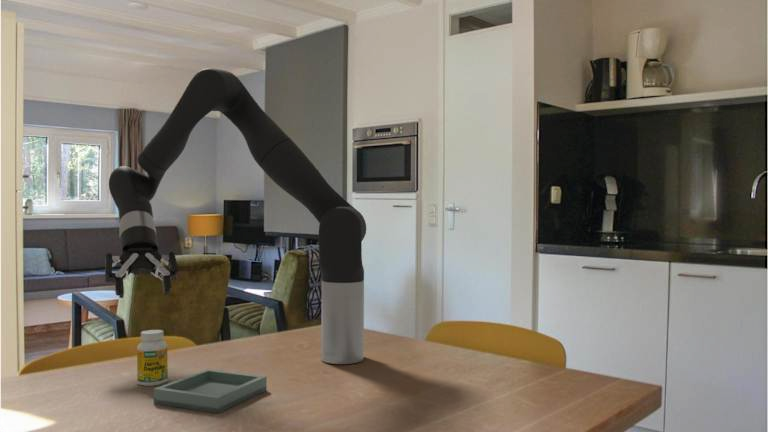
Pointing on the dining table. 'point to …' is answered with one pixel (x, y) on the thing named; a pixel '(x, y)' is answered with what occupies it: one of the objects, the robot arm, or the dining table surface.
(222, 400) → the tray
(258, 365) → the dining table surface
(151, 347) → the supplement bottle
